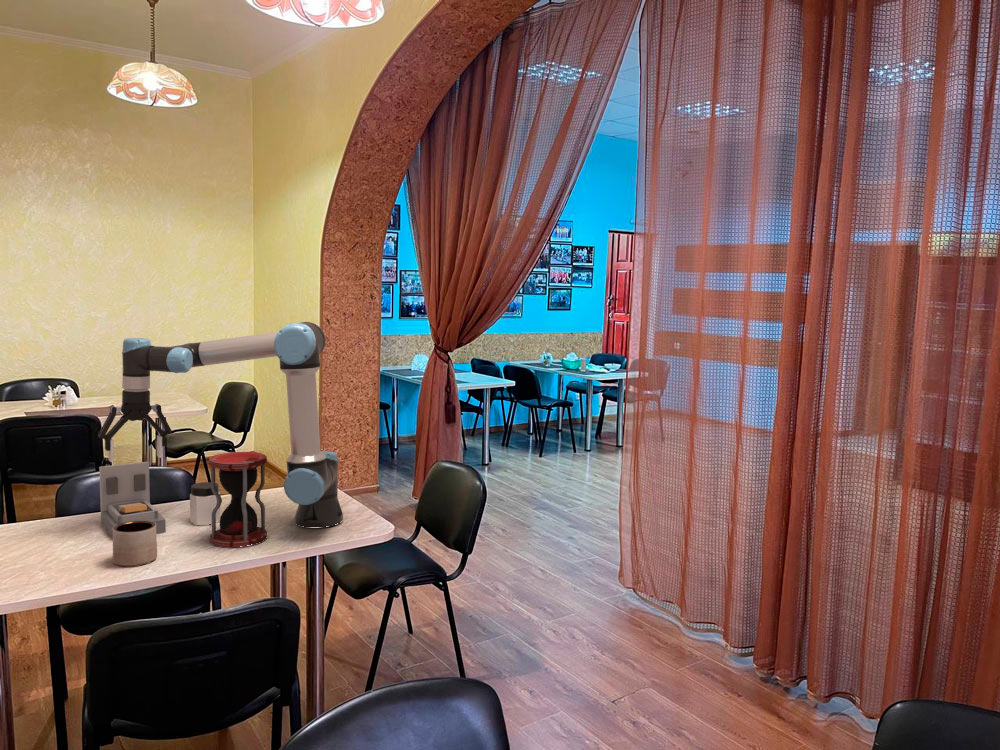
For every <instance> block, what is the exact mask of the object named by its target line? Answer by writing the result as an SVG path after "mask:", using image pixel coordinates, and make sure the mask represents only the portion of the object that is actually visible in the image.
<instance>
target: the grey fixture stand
mask: <svg viewBox="0 0 1000 750" xmlns="http://www.w3.org/2000/svg"><path fill="white" fill-rule="evenodd" d="M98 469H99V498H100V499H99V500H100V503H99V504H100V523H101V525H102V526H103V527H104V528H106V529H105V530H106V531H107V532H108V534H109V533H110V534H109V535H110V536H111V537H112V538H113V527H114V526H116V525H118V524H121V523H125V522H130V521H151V522H154V523H156V535H158V534H164V532H165V533H166V531H167V528H166V524H167V523H166V521H167V520H166V519H165V518H164V517H163V516H162V515H161V514H160V513H159V511H158V509H156V507H154V505H152V504H151V501H150V500H151V498H150V495H151V494H150V493H151V492H150V462H149V461H139V462H130V463H123V464H112V465H104V466H102V465H101V466H99V467H98ZM134 503H142V504H145V505H147V510H142V511H135V512H128V513H124V512H122V513H121V511H118V506H119V505H127V504H134Z"/></svg>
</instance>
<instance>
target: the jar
mask: <svg viewBox="0 0 1000 750" xmlns="http://www.w3.org/2000/svg"><path fill="white" fill-rule="evenodd" d="M190 487H191V488H190V492H191V493H190V494H189V514H190V515H189V520H190V524H192V523H193V524H192V525H194V524H195V526H196V525H205V526H210V525H209V524H212V511H213V509H214V508H215V507H216V504H217V499H216V496H215V495H214V494H213V492H212V490H211V481H208V482H207V481H204V482H198V483H193V484H192V485H191V486H190ZM215 488H216V491H217V492H218V493H219V494H220V495H221V492H220V490H219V488H220V486H219V483H217V482H215ZM220 517H221V506H220V507H219V509H218V510H217V512H216V522H217V521H219V522H220ZM217 523H218V522H217Z"/></svg>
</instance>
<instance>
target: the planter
mask: <svg viewBox="0 0 1000 750" xmlns="http://www.w3.org/2000/svg"><path fill="white" fill-rule="evenodd" d="M157 540H158V539H157V534H156V523H154V522H151V521H130V522H125V523H121V524H118V525H116V526H114V527H113V537H112V560H113V561H112V562H113V563H114V564H116V565H117V566H119V565H120V566H121V567H125V566H132V567H138V565H140V566H144V565H147V563H148V564H150V563H152V562H154V561H155V560H156V559H157V558H158V541H157ZM149 562H150V563H149ZM143 564H144V565H143ZM120 566H119V567H120Z"/></svg>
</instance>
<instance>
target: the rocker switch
mask: <svg viewBox="0 0 1000 750" xmlns="http://www.w3.org/2000/svg"><path fill="white" fill-rule="evenodd" d="M142 510H147V505H145V504H142V503H134V504H127V505H119V506H118V511H121V513H122V512H124V513H128V512H135V511H142Z"/></svg>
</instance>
